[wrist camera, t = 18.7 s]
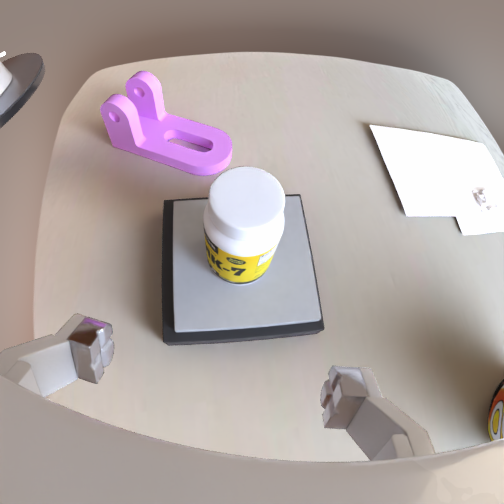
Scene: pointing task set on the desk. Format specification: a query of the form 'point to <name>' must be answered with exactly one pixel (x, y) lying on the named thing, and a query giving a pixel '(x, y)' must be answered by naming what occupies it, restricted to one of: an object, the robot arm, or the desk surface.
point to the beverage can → (497, 414)
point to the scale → (233, 296)
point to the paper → (444, 178)
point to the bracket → (162, 130)
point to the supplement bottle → (243, 224)
